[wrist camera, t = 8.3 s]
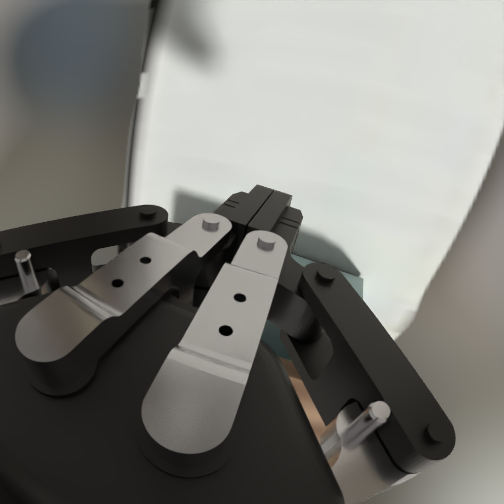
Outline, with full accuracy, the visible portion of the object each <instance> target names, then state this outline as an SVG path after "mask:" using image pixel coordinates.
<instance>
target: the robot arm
mask: <svg viewBox="0 0 504 504" xmlns="http://www.w3.org/2000/svg"><path fill="white" fill-rule="evenodd" d="M291 200H292V195H289V194H286V193H283V192H280V191H277V190H275V191H274V190H273V189H270V188H267V187H264V186H260V185H256V186H255V187H254V188H253V189H252V190H251V191H250V192H249V194H248V193H245V192H239V193H236V194H233V195H232V196H230V197H229V198H228V199H227V200H226V201H225V202H224V203H223V204H222V205H221V206H220V207H219V208H218V209H217V210H216V211H214V212H213V213H202V214H198V215H195V216H194V217H192V218H191V219H189V220H188V221H187V222H185V223H184V224H180V223H172V222H168V212H167V211H166V210H165V209H164V208H162V207H159V206H156V205H140V206H133V207H126V208H120V209H114V210H108V211H102V212H96V213H91V214H85V215H79V216H73V217H68V218H62V219H57V220H53V221H47V222H42V223H37V224H33V225H27V226H23V227H18V228H14V229H9V230H5V231H1V232H0V504H359V503H361V502H363V501H364V500H366V499H368V498H370V497H371V496H373V495H375V494H378V493H382V492H384V491H386V490H388V489H390V488H392V487H394V486H396V485H398V484H400V483H402V482H404V481H406V480H408V479H410V478H412V477H413V476H415V475H417V474H419V473H421V472H423V471H424V470H426V469H428V468H430V467H431V466H433V465H435V464H436V463H438V462H440V461H441V460H443V459H444V458H446V457H447V456H448V455H450V453H451V452H452V450H453V448H454V446H455V431H454V428H453V425H452V424H451V422H450V420H449V419H448V417H447V416H446V414H445V413H444V411H443V410H442V408H441V407H440V405H439V404H438V402H437V401H436V399H435V398H434V396H433V395H432V394H431V392H430V391H429V389H428V388H427V386H426V385H425V383H424V382H423V381H422V379H421V378H420V376H419V375H418V373H417V372H416V371H415V369H414V368H413V366H412V365H411V364H410V362H409V361H408V360H407V358H406V357H405V356H404V354H403V353H402V351H401V350H400V348H399V347H398V346H397V344H396V343H395V342H394V340H393V339H392V338H391V336H390V335H389V334H388V332H387V331H386V330H385V328H384V327H383V326H382V324H381V323H380V322H379V320H378V319H377V318H376V316H375V315H374V314H373V312H372V311H371V310H370V308H369V307H368V306H367V305H366V303H365V302H364V301H363V299H362V298H361V297H360V296H359V294H358V293H357V292H356V290H355V289H354V288H353V287H352V285H351V284H350V283H349V282H348V280H347V279H346V278H345V276H344V275H343V274H342V273H341V272H340V271H339V270H337V269H336V268H334V267H332V266H330V265H328V264H324V263H310V264H307V265H306V266H305V267H303V266H302V265H300V264H299V263H297V262H296V261H295V260H294V259H293V258H292V256H291V253H292V250H293V248H294V245H295V242H296V238H297V235H298V232H299V229H300V226H301V222H302V219H303V216H302V213H301V211H300V210H298V209H295V208H292V207H290V204H291ZM126 243H129V247H128V248H127V249H125V250H124V251H123V252H121V253H120V254H118V255H117V256H116V257H114V258H113V259H112V260H110V261H109V262H108V263H106V264H104V265H98V266H93V265H92V264H91V256H92V254H93V252H94V251H96V250H97V249H100V248H105V247H110V246H115V245H120V244H126ZM50 268H52V269H50ZM266 319H267V320H268V321H270V322H271V323H273V324H274V325H276V326H277V327H278V328H280V329H281V330H280V339H281V341H282V343H283V345H284V347H285V349H286V351H287V353H288V355H289V357H290V359H291V360H292V362H293V364H294V366H295V368H296V370H297V372H298V374H299V376H300V378H301V380H302V382H303V384H304V386H305V388H306V390H307V391H308V393H309V395H310V397H311V399H312V401H313V403H314V405H315V407H316V409H317V411H318V413H319V415H320V416H321V418H322V420H323V422H324V424H325V426H326V428H325V429H324V430H323V432H322V434H321V437H320V444H319V441H318V439H317V437H316V435H315V433H314V430H313V428H312V426H311V424H310V422H309V420H308V417H307V415H306V413H305V411H304V409H303V406H302V404H301V402H300V400H299V397H298V395H297V393H296V391H295V389H294V386H293V384H292V382H291V380H290V377H289V375H288V373H287V371H286V369H285V367H284V365H283V363H282V362H281V360H280V358H279V357H278V356H277V354H276V353H275V352H274V351H273V350H272V349H271V348H270V347H269V346H268V345H267V344H266V343H265V342H263V341H262V340H261V339H260V338H261V335H262V332H263V329H264V326H265V322H266ZM325 332H326V333H325ZM326 334H327V335H326ZM328 337H329V338H328Z"/></svg>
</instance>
